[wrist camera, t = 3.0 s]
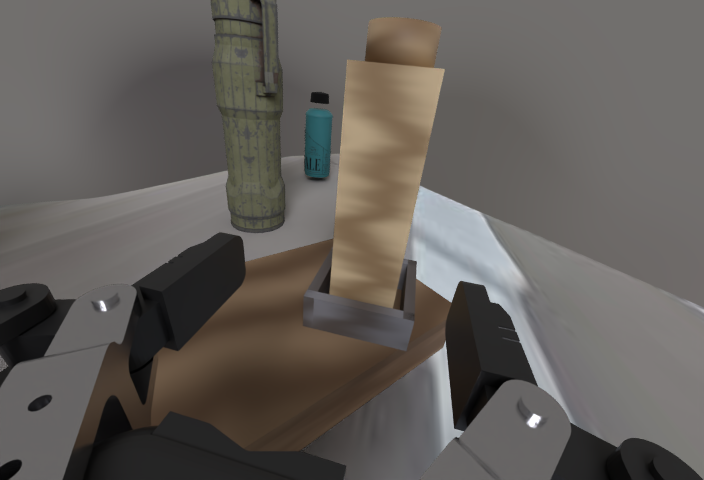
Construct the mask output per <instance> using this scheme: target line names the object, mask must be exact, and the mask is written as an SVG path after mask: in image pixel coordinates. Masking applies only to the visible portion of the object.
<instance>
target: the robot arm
mask: <svg viewBox="0 0 704 480" xmlns="http://www.w3.org/2000/svg"><path fill="white" fill-rule="evenodd" d="M245 275H246V267H245V257H244V247H243V240H242V238H241V237H240V236H236V235H231V234H226V233H217V234H216V235H214V236H213V237H211V238H210V239H208V240H207V241H205V242H203V243H201V244H198V245H195V246H192V247H190V248H188V249H186V250H185V251H183V252H182V253H180V254H179V255H178V257H174V258H173V259H171V260H170V261H168V263H165V264H163V265H162V266H160V267H159V268H157V269H156V270H154V271H153V272H151V273H150V274H148V275H147V276H145V277H144V278H142V279H140V280H139V281H137V282H136V283H134V284H133V285H131V286H130V285H126V284H113V285H107V286H103V287H100V288H97V289H94V290H92V291H89V292H87V293H85V294H84V295H82V296H81V297H79V298H78V299H68V300H54V298H53V296H52V294H51V292H50V290H49V288H48V287H47V286H46V285H43V284H37V283H32V284H22V285H17V286H13V287H9V288H5V289H2V290H0V355H1V356H2V358H3V359H4V361H5V362H6V363H7V365H8V366H9V367H7V368H6V369H4V370H3V371H1V372H0V480H344V476H345V470H346V466H345V465H342V464H339V463H336V462H333V461H329V460H326V459H323V458H320V457H316V456H313V455H310V454H307V453H304V452H300V451H248V450H245V449H243V448H242V447H241V446H239V445H238V444H237V443H235V442H234V441H233V440H231V439H230V438H229V437H227V436H226V435H225V434H223V433H222V432H221V431H219V430H218V429H217V428H216V427H214V426H213V425H212V424H210V423H207V422H204V421H201V420H198V419H194V418H191V417H188V416H185V415H181V414H178V413H175V412H172V411H170V412H169V413H168V414H167V415H166V417H165V418H164V419H163V420H162V422H161V423H160V424H159V425H158V426H151V408H152V402H153V395H154V388H155V381H156V374H157V367H158V355H157V353H158V352H159V351H160V350H161V349H162V348H163V347H164V348H168V349H172V350H175V351H179V350H180V349H181V348H182V347H183V346H184V345H185V344H186V343H187V342H188V341H189V340H190V339H191V338H192V337H193V336H194V335H195V334H196V332H197V331H198V330H199V329H200V328H201V327H202V326H203V325H204V324H205V323H206V322H207V321H208V320H209V319H210V318H211V317H212V316H213V315H214V314H215V313H216V311H217V310H218V309H219V308H220V307H221V306H222V305H223V304H224V303H225V302H226V301H227V300H228V299H229V298H230V297H231V296H232V295H233V294H234V293H235V292H236V291H237V289H238V288H239V287H240V286H241V285H242V283H243V281H244V279H245ZM445 337H446V347H447V358H448V368H449V379H450V389H451V400H452V410H453V421H454V429H458V430H461V431H464V432H463V434H462V435H461V436H460V437H459V438H457V437H455V438H454V439H453V440H452V441H451V442H450V443H449V444H448V445H447V446H446V448H445V449H444V450H443V451H442V452H441V454H440V455H439V456H438V457H437V458H436V460H435V461H434V462H433V463H432V465H431V466H430V467H429V468H428V469H427V471H426V472H425V473H424V474H423V475H422V477H421V478H420V479H419V480H703V479H702V478H701V477H700V476H699V475H698V474H697V473H696V472H695V471H694V470H693V469H692V468H691V467H689V466H688V465H687V464H686V463H685V462H683V461H682V460H681V459H679V458H678V457H677V456H675V455H674V454H672V453H671V452H669V451H668V450H666V449H664V448H662V447H661V446H659V445H657V444H654V443H652V442H649V441H647V440H643V439H639V438H630V439H627V440H625V441H624V442H623V443H622V444H621V445H620V446H619V447H618V448H617V447H615V446H613V445H612V444H610V443H608V442H606V441H604V440H602V439H600V438H598V437H596V436H594V435H592V434H590V433H588V432H586V431H584V430H582V429H581V428H579V427H577V426H575V425H573V424H572V423H570V421H569V419H568V416H567V414H566V413H565V411H564V410H563V408H562V407H561V406H560V404H559V403H558V402H557V401H556V400H555V399H554V398H553V397H552V396H551V395H549V394H548V393H547V392H546V391H544V390H543V389H541V388H539V387H538V385H537V383H536V380H535V378H534V375H533V373H532V370H531V368H530V365H529V363H528V360H527V358H526V355H525V353H524V350H523V348H522V345H521V343H519V341H520V340H519V337H518V335H517V332H515V327H514V325H513V322H512V320H511V317H510V316H509V315H508V314H507V312H506V311H505V310H504V309H503V308H502V307H501V306H500V305H499V304H496V303H491V302H490V300H489V297H488V294H487V291H486V288H485V286H483V285H479V284H474V283H469V282H464V281H460V282H459V284H458V286H457V288H456V291H455V294H454V297H453V300H452V303H451V306H450V309H449V312H448V315H447V319H446V326H445Z"/></svg>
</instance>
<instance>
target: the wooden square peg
mask: <svg viewBox="0 0 704 480" xmlns="http://www.w3.org/2000/svg"><path fill="white" fill-rule="evenodd" d="M440 34H441V27H440V26H438V25H436V24H434V23H431V22H427V21H423V20H417V19H409V18H398V17H387V18H386V17H384V18H376V19H372V20H370V21H369V26H368V36H367V46H366V56H365V61H355V60H347V70H346V85H345V97H344V110H343V123H342V137H341V150H340V162H339V175H338V188H337V201H336V215H335V228H334V241H333V254H332V267H331V280H330V293H329V294H330V295H334V296H339V297H343V298H348V299H352V300H357V301H361V302H366V303H370V304H375V305H379V306H384V307H388V308H392V309H393V305H394V301H395V296H396V291H397V287H398V282H399V278H400V273H401V268H402V264H403V259H404V255H405V250H406V245H407V241H408V236H409V232H410V227H411V222H412V218H413V213H414V208H415V204H416V199H417V195H418V190H419V185H420V181H421V176H422V171H423V167H424V162H425V158H426V153H427V149H428V144H429V139H430V135H431V130H432V125H433V121H434V116H435V112H436V107H437V103H438V97H439V93H440V89H441V84H442V80H443V75H444V70H445V69H437V68H434V64H435V59H436V54H437V49H438V44H439V38H440Z"/></svg>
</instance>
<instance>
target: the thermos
mask: <svg viewBox="0 0 704 480" xmlns="http://www.w3.org/2000/svg"><path fill="white" fill-rule="evenodd" d="M211 9H212V18H213V20H214V21H215V29H216V34H215V35H214V36H215V49H214V55H213V60H212V66H213V75H214V82H215V92H216V100H217V106H218V108H219V110H220V112H221V114H222V120H223V129H224V138H225V147H226V156H227V165H228V175H229V176H228V179H227V183H226V192H227V200H228V209H229V211H230V212H231V224H232V226H233V227H234V228H236V229H238V230H240V231H244V232H251V233H262V232H268V231H273V230H275V229H278V228H279V227H281V226H282V225H283V223H284V209H285V185H284V182H283V179H282V177H281V153H280V117H281V114H282V112H283V84H282V83H283V81H282V80H283V79H282V67H281V64H280V61H279V58H278V21H277V4H276V0H211Z"/></svg>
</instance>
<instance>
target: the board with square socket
mask: <svg viewBox="0 0 704 480" xmlns="http://www.w3.org/2000/svg"><path fill="white" fill-rule="evenodd" d="M333 241H334V239H330V240H327V241H323V242H319V243H315V244H311V245H308V246H304V247H300V248H296V249H292V250H289V251H285V252H281V253H277V254H274V255H270V256H266V257H262V258H258V259H255V260H251V261H247V262H245V267H246V275H245V279H244V281H243V283H242V285H241V286H240V287H239V288H238V289H237V291H236V292H235V293H234V294H233V295H232V296H231V297H230V298H229V299H228V300H227V301H226V302H225V303H224V304H223V305H222V306H221V307H220V308H219V309H218V310H217V311H216V313H215V314H214V315H213V316H212V317H211V318H210V319H209V320H208V321H207V322H206V323H205V324H204V325H203V326H202V327H201V328H200V329H199V330H198V331H197V332H196V334H195V335H194V336H193V337H192V338H191V339H190V340H189V341H188V342H187V343H186V344H185V345H184V346H183V347H182V348H181V349H180V350H179V351H175V350H172V349H168V348H164V347H163V348H162V349H161V350H160V351H159V352H158V353H157V355H158V367H157V374H156V381H155V388H154V395H153V402H152V408H151V426H158V425H159V424H160V423H161V422H162V420H163V419H164V418H165V417H166V415H167V414H168V413H169V412H170V411H172V412H175V413H178V414H181V415H185V416H188V417H191V418H194V419H198V420H201V421H204V422H207V423H210V424H212V425H213V426H214V427H216V428H217V429H218V430H219V431H221V432H222V433H223V434H225V435H226V436H227V437H229V438H230V439H231V440H233V441H234V442H235V443H237V444H238V445H239V446H241V447H242V448H243V449H245V450H248V451H300V450H302V449H303V448H304V447H306V446H307V445H309V444H310V443H311V442H313V441H314V440H315V439H317V438H318V437H320V436H321V435H322V434H324V433H325V432H327V431H328V430H329V429H331V428H332V427H333V426H335V425H336V424H338V423H339V422H340V421H342V420H343V419H345V418H346V417H347V416H349V415H350V414H351V413H353V412H354V411H356V410H357V409H358V408H360V407H361V406H363V405H364V404H365V403H367V402H368V401H370V400H371V399H372V398H374V397H375V396H376V395H378V394H379V393H381V392H382V391H383V390H385V389H386V388H388V387H389V386H390V385H392V384H393V383H394V382H396V381H397V380H399V379H400V378H401V377H403V376H404V375H406V374H407V373H408V372H410V371H411V370H412V369H414V368H415V367H417V366H418V365H419V364H421V363H422V362H424V361H425V360H426V359H428V358H429V357H430V356H432V355H433V354H435V353H436V352H437V351H439V350H440V349H442V348H443V346H444V343H445V341H446V337H445V326H446V319H447V315H448V312H449V309H450V306H451V302H449V301H448V300H446V299H445V298H443V297H442V296H441V295H439V294H438V293H436V292H435V291H433V290H432V289H430V288H429V287H427V286H426V285H425V284H423V283H422V282H420V281H419V280H417V279H416V264H417V261H412V260H407V259H403V264H402V268H401V273H400V278H399V282H398V287H397V291H396V296H395V301H394V305H393V309H392V308H388V307H384V306H379V305H375V304H370V303H366V302H361V301H357V300H352V299H348V298H343V297H339V296H334V295H330V294H329V293H330V280H331V267H332V254H333Z"/></svg>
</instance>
